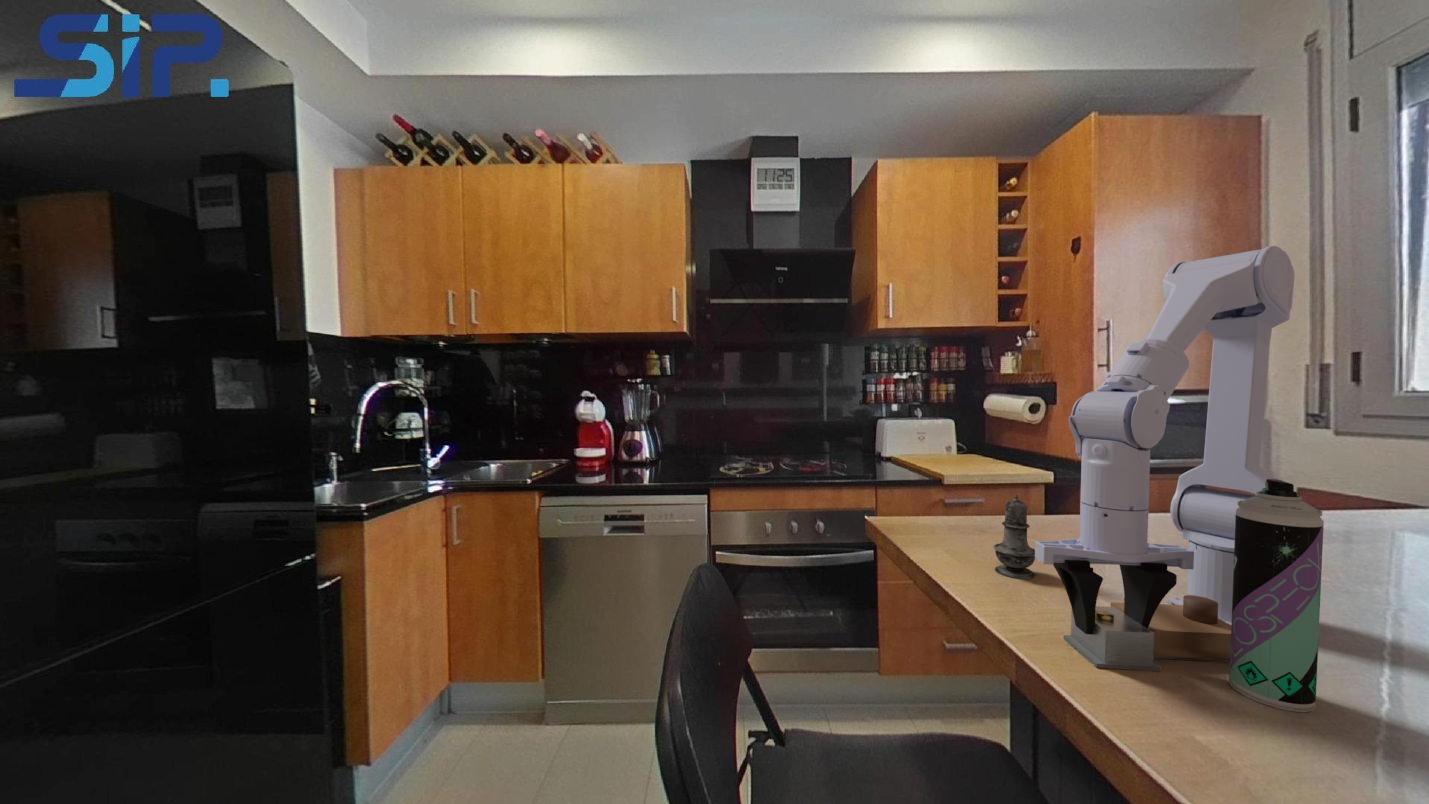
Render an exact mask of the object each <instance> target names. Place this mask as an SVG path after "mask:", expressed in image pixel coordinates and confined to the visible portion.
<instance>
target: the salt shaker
mask: <svg viewBox="0 0 1429 804" xmlns="http://www.w3.org/2000/svg"><path fill="white" fill-rule="evenodd" d="M1019 497H1020V496H1018V494H1016V493H1015V494H1014V496H1013V499H1012V500H1008V501H1006V503H1005V505H1004V506H1005V507H1004V521H1002V522H1001V524H1002V525H1003V526H1004V527H1003V529H1004V530H1003V539H1002V542H1000V543H995V544H994V545H993V547H992V548H993V549H994V550H995V551H994V552H995V556H996V558H997V560H998V561H999V562H1000V563H1001V564H1000V565H997V566H996V567H995V568H994V571H995V572H996V573H998V574H999V575H1002V576H1004V577H1007V578H1012V579H1018V580H1029V579H1034V578H1035V577H1036V574H1035V572H1033V571H1032V570H1031V569H1029V567H1031V566H1032V565H1033V563H1034V562H1035V561H1036V558H1035V548H1033V547H1030V546H1029V543H1028V528H1029V529H1030V524H1028V517H1027V516H1028V506H1027V504H1026V503H1025V502H1023V501H1021V500H1020V499H1019Z"/></svg>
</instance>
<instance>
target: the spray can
mask: <svg viewBox="0 0 1429 804" xmlns="http://www.w3.org/2000/svg"><path fill="white" fill-rule="evenodd" d="M1265 487H1266V488H1263V489H1262V491H1258V492H1257V495H1256V496H1254V497H1251V498H1248V499H1246V500H1242V501H1238V506H1239V508H1237V509H1236V518H1235V545H1234V571H1233V598H1232V624H1231V651H1230V662H1229V684H1230V686H1231V687H1232V688H1233V690H1235V691H1236V692H1238V694H1241V695H1243V696H1245V697H1246V698H1248V699H1251V700H1253V701H1256V702H1257V703H1260V704H1263V705H1265V706H1269V707H1272V708H1276V709H1280V710H1284V711H1290V712H1297V713H1308V711H1310V712H1312V711H1314V710H1315V709H1314V708H1316V703H1317V702H1316V700H1317V682H1318V681H1317V678H1318V658H1319V657H1318V656H1319V638H1320V637H1319V635H1320V634H1319V633H1320V615H1321V613H1320V610H1321V594H1322V593H1321V589H1322V568H1323V566H1322V564H1323V550H1324V549H1323V546H1324V520H1323V519H1322V518H1321V517H1322V516H1323V511H1322V510H1320V509H1317V508H1315V507H1313V506H1312V505H1310V504H1308V503H1307V502H1305V501H1303V500H1302V498H1303V497H1302V495H1299V494H1298V492H1297V491H1295V490H1294V489H1295V488H1294V487H1295V486H1294V484H1293V483H1291V482H1290V483H1289V482H1287V481H1284V480H1281V479H1278V480H1276V479H1266V483H1265Z"/></svg>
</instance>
